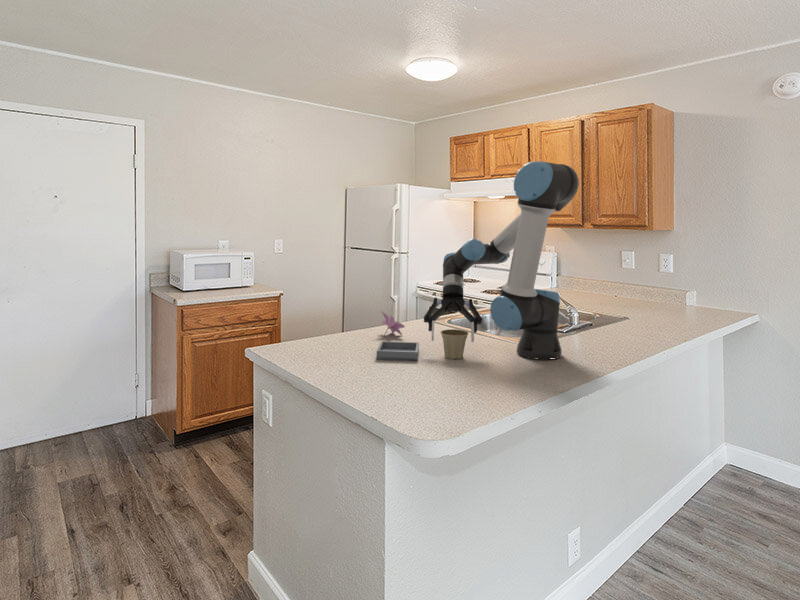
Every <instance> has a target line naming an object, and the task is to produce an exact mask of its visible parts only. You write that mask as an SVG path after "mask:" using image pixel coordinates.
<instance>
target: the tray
mask: <svg viewBox="0 0 800 600" xmlns="http://www.w3.org/2000/svg"><path fill="white" fill-rule="evenodd" d="M419 352H420V342H413V341H411V342H408V341H388V340H387V341H385V340H384V341H382V340H381V341H380V343H379V344H378V347H377V349H376V360H378V361H402V362H403V361H404V362H406V361H407V362H418V360H419V359H418V358H419Z"/></svg>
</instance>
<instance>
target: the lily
mask: <svg viewBox="0 0 800 600" xmlns="http://www.w3.org/2000/svg"><path fill="white" fill-rule="evenodd" d="M380 313H381V314H382V316H383V318H384V319H383V320H381V321H380V322H381V324H383V325H385V326H387V329H386V330H385V333H384V336H383V338H385V337H386V334H387V332H388V330H390V332H391V333H392V334H394V333H395V332H396V333H398V334H400V336H403V334H402V331H401V330H400V329H404V328H405V327H406V326H405V325H404V324H403V323H401V322H399V321H395V318H394V317H393V315H388V314H387V313H385V312H384V311H382V310H381V311H380Z"/></svg>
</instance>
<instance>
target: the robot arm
mask: <svg viewBox="0 0 800 600" xmlns="http://www.w3.org/2000/svg"><path fill="white" fill-rule="evenodd" d="M579 180H580V179H579V176H578V174H577V172H576V170H575V169H574V168H572V166H569V165H567V164H564V163H562V164H561V163H555V162H554V163H553V162H548V161H547V162H546V161H538V160H537V161H530V162H526V163H525V164H524V165H523V166H522V167H521V168H519V169H518V171H517V173H516V174H515V176H514V180H513V191H514V193H515V196H516V197H517V198H518V200H517V205H518V207H519V208H520V210H521V211H520V213H519V214H518V215H517V216H516V217H515V218H513V220H512V221H511V222H510V223H509V224H508V225H507V226H506V227H505V228H504V229H502V230H501V232H500V233H499V234H497V236H496V237H494V238H493V239H492V240H491V241H490V242H489V243H483V242H482V240H480V239H477V238H470V239H469V240H468V241H467V242H465V243H464V244H462V246H461V247H460V248H459V249H458V250H457V251H456V252H454V251H451V252H449V253H446V254H445V256H444V258H443V261H442V263H443V264H442V298H441V299H438V298H437V297H435V298H433V302H432V304H431V306H430V307H429V308H428V310H427V311H426V313H425V315H424V316H423V322H424V323H427V324H428V332H431V341H432V342H434V341H435V340H434V338H435V322H436V321H437V320H438V319H439V318H440V317H441V316H442V315H444V314H445V313H458V312H459V313H460V314H461V315H462V316H463V317H465V318H466V320H468V322H470V324H471V325H470V339H471V340H470V341H471V343H474V341H475V334H476V333H477V332H478V325H482V323H483V317H482V316H481V315H480V313H479V311H478V310H477V308H476V306H475V305H474V302H473V299H472V298H469V299H468V300H465V299H464V273H465V272H466V271H468V270H469V269H470V268H472V266H474V265H477V266H478V265H491V264H492V265H499V264H503V263H505V262H506V261H508V259H509V257H510V253H511V252H512V251H513V252H512V257H511V262H510V267H509V273H508V277H507V278H508V279H507V281H506V283H505V284H503V285H502V286H501V290H500V294H499V296H496V297H495V298H494V299H493V300H492V301H491V304H490V308H489V309H490V310H489V311H490V317H491V319H492V320H493V323H494V324H495V326H496V327H497V328H499V329H500V330H501V331H505V332H516V331H520V330H522V334H521V336H520V339H519V341H518V343H517V346H516V353H518V354H519V355H518V354H517V355H518V356H520V355H521V356H520V357H522V356H524V357H523V358H526V357H529V358H528V359H531V358H538V359H550V358H557V357H560V356H561V357H562V346H561V342H560V339H559V335H558V331H559V329H558V328H559V315H560V314H559V313H560V305H561V302H560V293H559V292H557V291H553V290H547V289H539V288H535V285H536V280H537V275H538V274H537V273H538V269H539V265H540V260H541V256H542V250H543V247H544V246H543V245H544V240H545V237H546V232H547V227H548V222H549V217H551V215H553V213H555V212H560V211H562V210H563V208H566V206H567V205H569V203H571V201H572V200H573V199H574V197H575V196H576V195H577V193H578V190H579V185H580V184H579V183H580V182H579ZM439 305H441V306H440V308H439V309H438V310H437V311H436V312H435V310H436V309H437V307H439ZM465 305H466V307H468V309H469V310H470V312H469V310H468V309H466V307H465ZM561 357H560V358H561ZM538 359H537V360H538Z"/></svg>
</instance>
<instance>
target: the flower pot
mask: <svg viewBox="0 0 800 600" xmlns="http://www.w3.org/2000/svg"><path fill="white" fill-rule="evenodd" d="M440 334H441V337H442V341H443V351H444V357H445V358H447V359H451V360H454V359H458V360H460V359H462V358H463V357H464V352H465V347H466V341H467V338H468V335H469V332H468V331H466V330H463V329H454V328H453V329H452V328H451V329H443V330H441V331H440Z"/></svg>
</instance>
